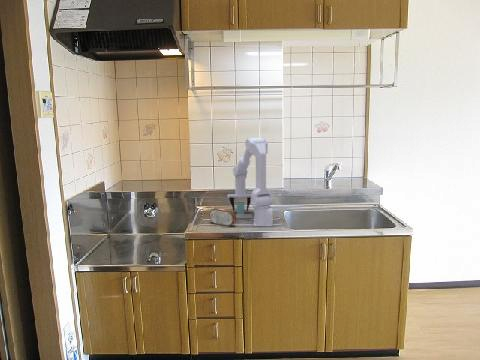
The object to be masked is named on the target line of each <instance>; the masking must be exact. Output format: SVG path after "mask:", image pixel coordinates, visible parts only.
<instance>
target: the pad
mask: <svg viewBox="0 0 480 360" xmlns="http://www.w3.org/2000/svg"><path fill="white" fill-rule="evenodd" d="M235 215H236V221H237V220H240V221H241V220H243V221H244V220H253V213H244V214H237V213H235Z"/></svg>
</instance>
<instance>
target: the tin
mask: <svg viewBox="0 0 480 360" xmlns="http://www.w3.org/2000/svg"><path fill="white" fill-rule="evenodd" d="M208 215H209V219H210V221H211V222H212V223H213V224H215V225H220V226H226V227H230V226H234V225H235V223H236V221H237V220H236V213H235V211H233V209H230V208H229V209H228V208H223V207H216V206H215V207H214V208H213V209H211V210H210V211H209V213H208Z"/></svg>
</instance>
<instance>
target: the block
mask: <svg viewBox="0 0 480 360" xmlns="http://www.w3.org/2000/svg"><path fill="white" fill-rule="evenodd" d="M236 214H245V201H237V202H236Z"/></svg>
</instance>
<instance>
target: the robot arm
mask: <svg viewBox="0 0 480 360" xmlns="http://www.w3.org/2000/svg"><path fill="white" fill-rule="evenodd" d="M268 143H269V142H268V141H267V138H266V137H247V138H246V139H245V144H244V145H245V150H244V154H243V156H241V157H240V158H239V160H238V162H237V164H235V165H234V166H233V169H232V171H233V172H232V173H233V175H234V188H235V189H234V190H235V191H234V193H232V194H231V193H229V194H227V196H226V197H227V199H229V202H230V204H231V207H232V211H233V212H235V199H246V211H247V212H248V211H249V207H250V205H251V206H252V208H254V210H253V211H254V212H253V213H254V214H253V215H254V216H253V217H254V218H253V219H254V221H253V227H273V226H274V225H273V222H274V217H273V214H274V213H273V212H274V211H273V210H274V209H273V207H271V205H272V203H273V197H272V191H271V190H270V189H268V188H267V154H268V153H269V148H268V146H269V145H268ZM252 156H254V157H255V188H254V189H253V190H252V192H251V194H250V193H246V179H247V174H248V168H249V166H250V164H251V158H252Z"/></svg>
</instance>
